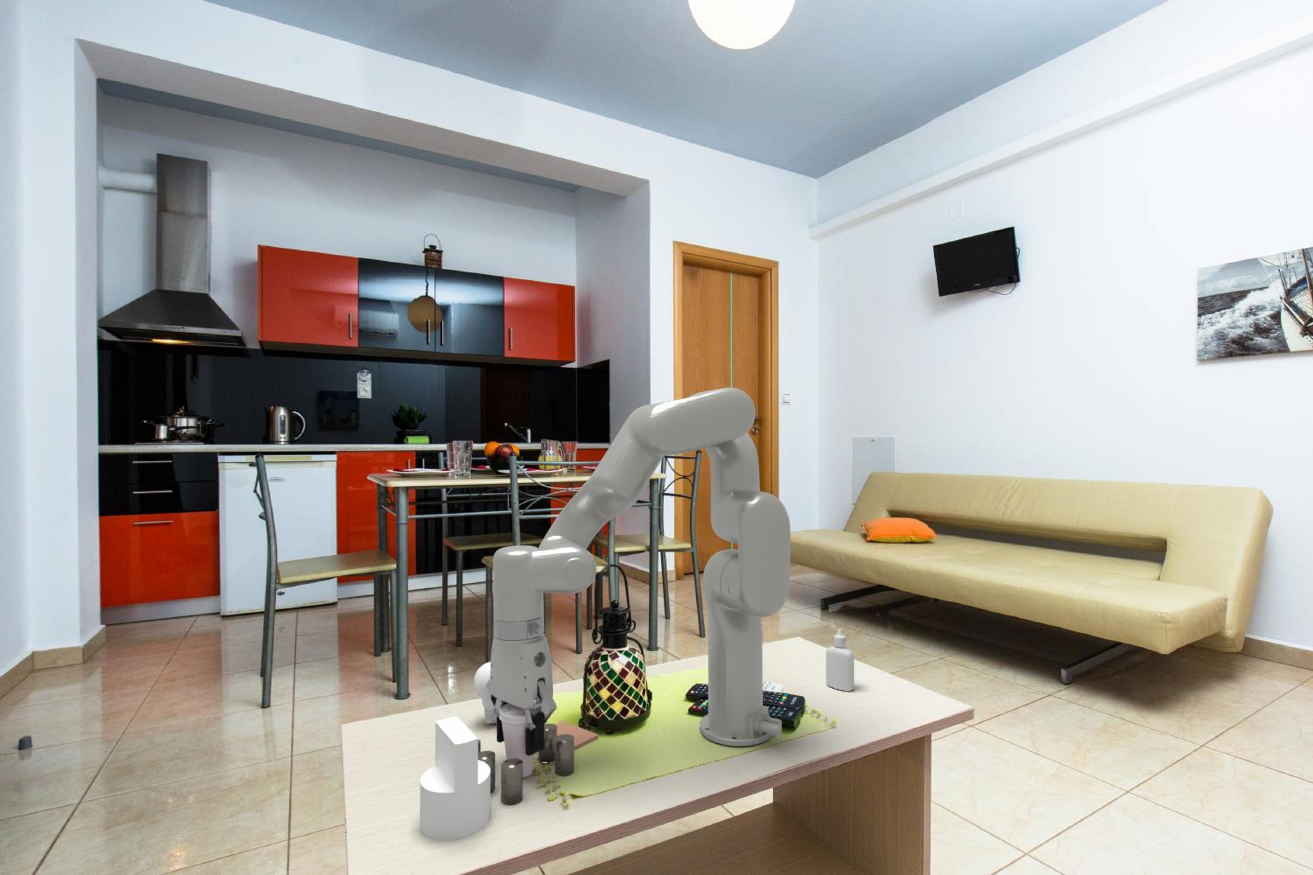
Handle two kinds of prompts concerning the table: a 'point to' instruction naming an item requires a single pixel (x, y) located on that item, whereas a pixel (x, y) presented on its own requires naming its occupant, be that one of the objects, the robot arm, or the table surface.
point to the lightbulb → (485, 692)
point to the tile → (576, 733)
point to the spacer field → (512, 769)
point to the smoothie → (516, 735)
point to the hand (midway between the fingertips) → (520, 744)
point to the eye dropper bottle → (840, 664)
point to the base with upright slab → (454, 785)
